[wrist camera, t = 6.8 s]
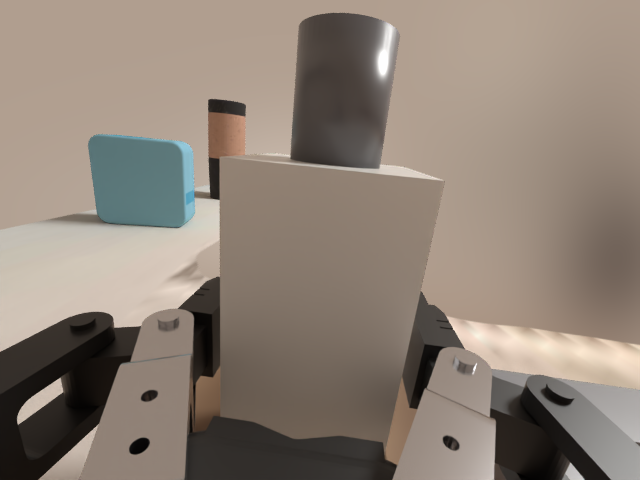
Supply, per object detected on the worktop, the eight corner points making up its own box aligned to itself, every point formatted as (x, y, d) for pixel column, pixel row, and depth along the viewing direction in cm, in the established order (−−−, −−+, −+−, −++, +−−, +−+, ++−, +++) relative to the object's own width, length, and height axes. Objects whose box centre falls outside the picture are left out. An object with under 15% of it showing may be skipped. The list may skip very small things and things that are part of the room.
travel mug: (202, 197, 65) (200, 97, 59) (218, 192, 73) (217, 103, 67) (236, 201, 65) (237, 101, 59) (248, 196, 72) (251, 106, 66)
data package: (195, 221, 48) (193, 142, 44) (186, 228, 44) (182, 142, 40) (114, 215, 46) (105, 133, 43) (97, 223, 42) (85, 132, 39)
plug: (220, 559, 10) (219, -23, 5) (259, 436, 14) (277, 54, 9) (355, 585, 10) (485, -4, 5) (353, 451, 14) (421, 66, 9)
